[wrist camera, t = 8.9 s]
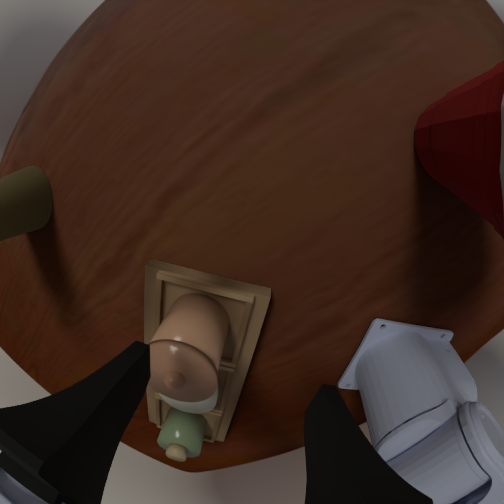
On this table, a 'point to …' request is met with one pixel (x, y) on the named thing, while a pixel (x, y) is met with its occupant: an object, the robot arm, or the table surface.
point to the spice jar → (189, 348)
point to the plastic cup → (468, 144)
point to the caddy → (237, 341)
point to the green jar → (182, 434)
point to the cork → (24, 202)
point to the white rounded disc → (194, 403)
